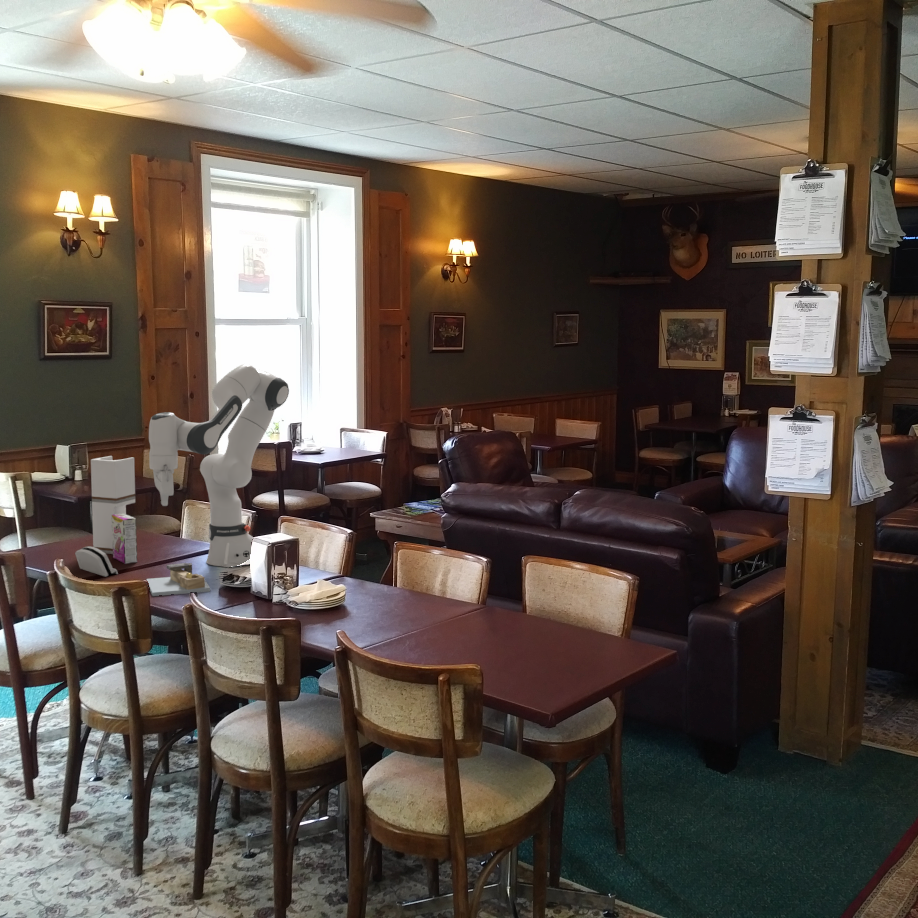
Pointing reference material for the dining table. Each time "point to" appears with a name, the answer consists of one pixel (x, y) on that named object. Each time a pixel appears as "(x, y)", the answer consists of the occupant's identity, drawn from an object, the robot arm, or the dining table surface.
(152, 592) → the board
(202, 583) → the link
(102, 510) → the banded white column
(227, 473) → the robot arm
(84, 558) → the white black-striped rounded block
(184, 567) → the pintle keeper
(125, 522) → the candy bar box
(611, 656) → the dining table surface
